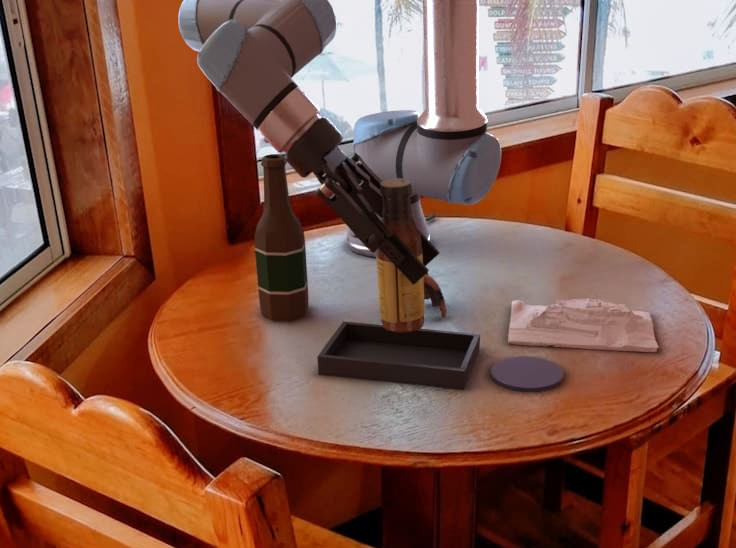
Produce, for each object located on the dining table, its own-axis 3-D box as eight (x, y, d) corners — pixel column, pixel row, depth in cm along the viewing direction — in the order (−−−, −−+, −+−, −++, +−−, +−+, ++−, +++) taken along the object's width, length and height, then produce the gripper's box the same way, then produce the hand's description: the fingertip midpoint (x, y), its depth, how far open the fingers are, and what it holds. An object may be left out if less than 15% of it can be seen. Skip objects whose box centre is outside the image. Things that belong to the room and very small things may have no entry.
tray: (343, 338, 146) (342, 321, 145) (479, 351, 143) (480, 333, 141) (318, 374, 136) (317, 356, 135) (463, 389, 132) (464, 371, 131)
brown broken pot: (450, 329, 150) (425, 288, 145) (396, 349, 154) (370, 310, 149) (453, 282, 158) (430, 242, 153) (402, 302, 162) (378, 264, 157)
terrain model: (501, 315, 157) (501, 284, 154) (645, 309, 156) (647, 278, 154) (509, 358, 143) (509, 325, 140) (667, 352, 142) (671, 319, 140)
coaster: (496, 356, 141) (496, 353, 141) (566, 363, 139) (566, 359, 139) (485, 387, 133) (485, 383, 133) (558, 395, 131) (559, 391, 131)
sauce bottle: (428, 318, 139) (428, 176, 127) (420, 336, 133) (420, 190, 122) (382, 315, 139) (379, 173, 128) (373, 333, 134) (369, 187, 123)
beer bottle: (250, 317, 153) (235, 159, 140) (277, 300, 159) (265, 147, 145) (293, 326, 150) (282, 166, 137) (319, 308, 156) (310, 153, 143)
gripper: (307, 137, 135) (422, 261, 141) (258, 175, 119) (390, 313, 125) (342, 98, 131) (460, 227, 137) (296, 132, 115) (431, 276, 121)
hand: (426, 268), depth 131 cm, fingers closed on sauce bottle, 6 cm apart
